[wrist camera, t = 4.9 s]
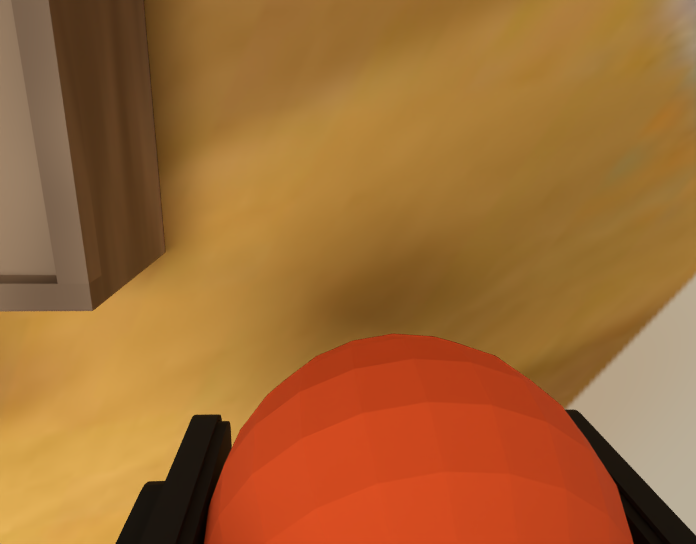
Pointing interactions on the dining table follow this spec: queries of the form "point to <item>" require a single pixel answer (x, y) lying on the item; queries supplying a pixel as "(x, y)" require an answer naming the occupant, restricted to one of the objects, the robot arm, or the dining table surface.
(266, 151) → the dining table surface
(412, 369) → the clementine
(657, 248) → the dining table surface
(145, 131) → the walnut stand
